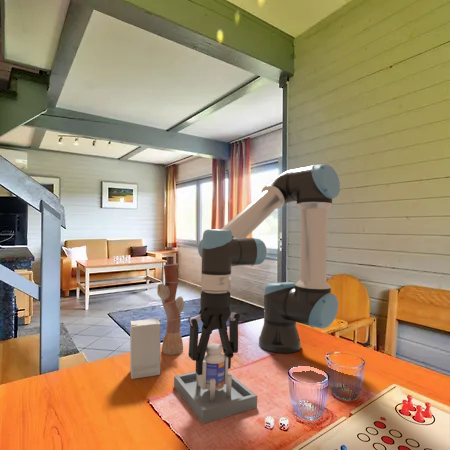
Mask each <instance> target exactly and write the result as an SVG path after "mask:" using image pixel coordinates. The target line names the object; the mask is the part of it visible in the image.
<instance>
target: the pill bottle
mask: <svg viewBox="0 0 450 450" xmlns="http://www.w3.org/2000/svg"><path fill="white" fill-rule="evenodd" d="M223 354H224V353H223V348H222V344H221V343H208V345H207V349H206V353H205V356H204V360H205V361H206V389H208V390H210V379H211V378H214V379H215V390H219V389H221V388H223V387H224V369H225V357H224V355H223Z"/></svg>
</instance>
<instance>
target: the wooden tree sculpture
mask: <svg viewBox="0 0 450 450" xmlns="http://www.w3.org/2000/svg"><path fill="white" fill-rule="evenodd" d="M179 267H180V264H179V263H171V264H169V263H167V264H164V265H163V273H164V280H165V282H164V283H158V285H157V289H156V291H157V293H156V294H157V296H158V297H159V298H160V299H161V304H162V307H163V309H164V312H165V316H166V321H167V322H166V332H165V335H164V336H163V341H162V345H161V353H163V354H164V355H169V356H173V355H174V356H176V355H179V354H182V353H183V351H184V343H183V338H182V335H181V322H182V321H181V319H182V318H181V314H182V312H183V310H184V308H185V301H184V299H183V296H178V297H176V296H177V291H178V290H177V289H178V287H179V278H178V277H179V276H178V272H177V269H178V268H179Z"/></svg>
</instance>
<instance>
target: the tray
mask: <svg viewBox="0 0 450 450" xmlns="http://www.w3.org/2000/svg"><path fill="white" fill-rule="evenodd" d="M198 377H199V375H198V374H197V373H196V371H193V372H188V373H184V374H178V375H174V376H173V379H174V380H173V387H174V389H175V390H176V391H177V393H178V394H179V395H180V396H181V397H182V399H183V400H184V402H185V403H186V404H187V405H188V407H189V408H190V409H191V411H193V413H194V415H196V417H197V418H198V421H200V422H201V424H206V423H210V422H213V421H216V420H220V419H224V418H227V417H229V416H234V415H237V414H240V413H244V412H246V411H250V410H253V409H255V408H258V395H257V393H255V392H253V391H252V390H251V389H250V388H248V386H246V385H245V384H244V383H243V382H241V381H240V380H239V379H238V378H236V377H235V376H233V375H232V374H231V373H230V372H229V371H228V375H227V381H226V384H224V387H223V388H221V389H219V390H215V379H214V378H211V379H210V390H208V389H204V390H203V389H202V388H201V387H200V386H199V385H198Z"/></svg>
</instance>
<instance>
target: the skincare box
mask: <svg viewBox="0 0 450 450" xmlns="http://www.w3.org/2000/svg"><path fill="white" fill-rule="evenodd" d="M161 329H162V328H161V322H160V320H159V319H158V318H148V319H138V320H130V324H129V336H130V337H129V340H130V341H129V343H130V345H129V349H130V354H129V355H130V356H129V358H130V359H129V362H130V363H129V365H130V367H129V371H130V376H131V377H130V378H131V380H135V379H140V378H147V377H154V376H161Z"/></svg>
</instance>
